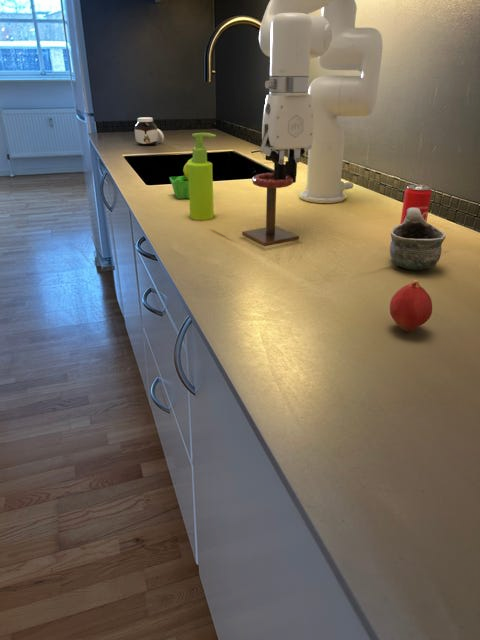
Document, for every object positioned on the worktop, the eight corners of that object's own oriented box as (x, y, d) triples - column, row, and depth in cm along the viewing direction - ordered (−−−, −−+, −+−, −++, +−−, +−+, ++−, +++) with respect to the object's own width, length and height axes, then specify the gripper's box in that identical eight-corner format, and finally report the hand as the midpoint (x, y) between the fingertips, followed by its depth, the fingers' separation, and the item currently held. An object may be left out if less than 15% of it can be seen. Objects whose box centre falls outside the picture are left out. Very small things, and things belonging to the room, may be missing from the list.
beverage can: (423, 240, 112) (432, 185, 106) (422, 247, 107) (432, 190, 102) (398, 238, 113) (406, 183, 108) (396, 245, 109) (405, 188, 103)
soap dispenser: (214, 221, 125) (212, 135, 116) (187, 219, 127) (183, 134, 118) (220, 214, 131) (218, 131, 121) (193, 213, 132) (190, 131, 123)
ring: (277, 178, 112) (278, 170, 111) (300, 185, 105) (301, 177, 104) (244, 182, 108) (244, 174, 107) (266, 190, 101) (266, 182, 101)
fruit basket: (207, 191, 153) (206, 152, 148) (215, 198, 146) (214, 157, 141) (169, 194, 150) (167, 154, 145) (176, 201, 142) (173, 159, 137)
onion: (381, 321, 77) (388, 272, 74) (418, 320, 78) (426, 271, 74) (394, 340, 72) (402, 288, 68) (434, 339, 72) (444, 287, 69)
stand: (275, 231, 118) (277, 176, 112) (299, 242, 111) (302, 184, 105) (242, 238, 113) (242, 181, 108) (264, 249, 107) (265, 189, 101)
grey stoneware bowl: (395, 276, 93) (403, 223, 89) (375, 253, 104) (381, 205, 100) (446, 275, 94) (457, 222, 89) (421, 252, 105) (429, 204, 100)
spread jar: (134, 145, 235) (131, 118, 229) (142, 142, 245) (140, 116, 239) (159, 146, 233) (157, 119, 228) (166, 142, 243) (164, 116, 237)
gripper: (265, 88, 93) (263, 190, 101) (332, 86, 100) (325, 181, 109) (244, 86, 99) (243, 183, 107) (309, 85, 106) (304, 175, 114)
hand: (285, 181), depth 108 cm, fingers closed on ring, 2 cm apart
